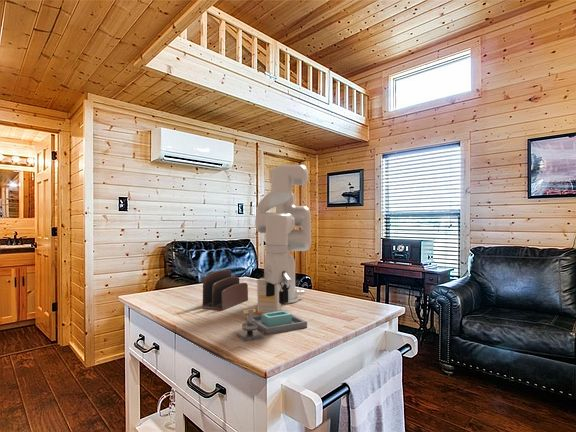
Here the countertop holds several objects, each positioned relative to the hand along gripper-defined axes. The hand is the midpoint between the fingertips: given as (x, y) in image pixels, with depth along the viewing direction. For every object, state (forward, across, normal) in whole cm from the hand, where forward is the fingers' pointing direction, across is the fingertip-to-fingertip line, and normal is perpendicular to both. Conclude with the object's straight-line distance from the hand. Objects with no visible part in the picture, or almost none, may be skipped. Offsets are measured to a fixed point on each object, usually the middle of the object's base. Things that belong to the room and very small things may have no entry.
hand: (276, 299), depth 113 cm
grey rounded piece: (+8, +8, -13) cm, 17 cm away
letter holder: (+10, -35, -6) cm, 37 cm away
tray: (+8, +1, -1) cm, 8 cm away
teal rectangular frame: (+8, +1, -1) cm, 8 cm away
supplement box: (+9, -13, +4) cm, 17 cm away
